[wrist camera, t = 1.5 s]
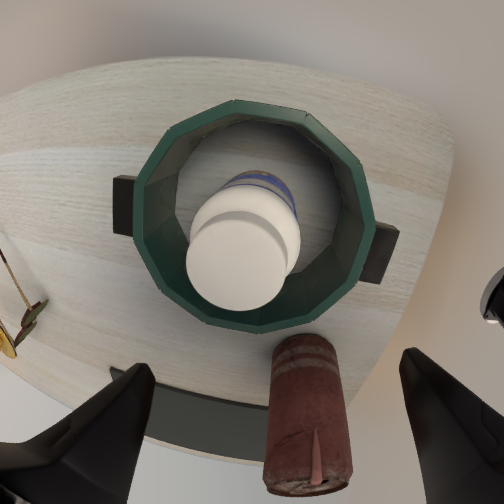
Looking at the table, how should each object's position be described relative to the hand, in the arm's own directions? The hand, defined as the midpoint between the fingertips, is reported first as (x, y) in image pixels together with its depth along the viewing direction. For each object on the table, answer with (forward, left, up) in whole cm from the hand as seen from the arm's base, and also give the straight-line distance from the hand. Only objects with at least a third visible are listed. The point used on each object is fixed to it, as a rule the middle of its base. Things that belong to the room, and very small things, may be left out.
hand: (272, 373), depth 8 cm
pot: (+2, -2, -13) cm, 13 cm away
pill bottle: (+2, -2, -13) cm, 13 cm away
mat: (+4, +31, -13) cm, 34 cm away
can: (-5, +11, -13) cm, 18 cm away
